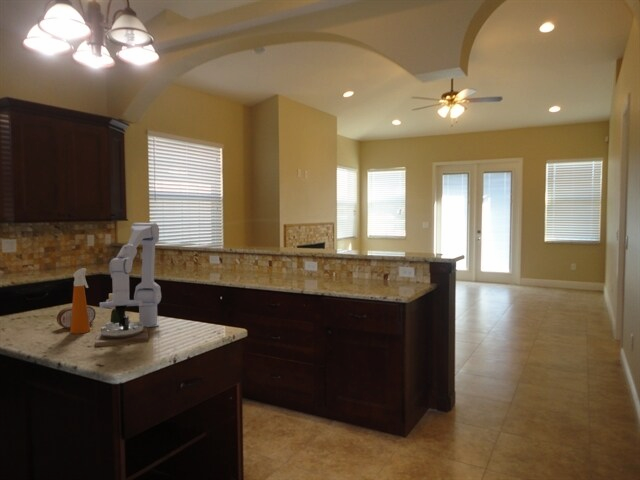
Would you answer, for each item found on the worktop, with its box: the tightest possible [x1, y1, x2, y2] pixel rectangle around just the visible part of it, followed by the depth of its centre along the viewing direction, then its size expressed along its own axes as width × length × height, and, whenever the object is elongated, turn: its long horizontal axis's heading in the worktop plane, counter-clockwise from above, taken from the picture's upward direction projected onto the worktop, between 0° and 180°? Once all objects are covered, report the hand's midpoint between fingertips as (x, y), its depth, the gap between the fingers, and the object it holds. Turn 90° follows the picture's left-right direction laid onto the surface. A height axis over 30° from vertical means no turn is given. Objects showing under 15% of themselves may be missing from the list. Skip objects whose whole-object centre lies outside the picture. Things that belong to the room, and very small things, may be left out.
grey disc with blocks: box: [100, 315, 143, 338], centre depth 176 cm, size 15×15×7 cm
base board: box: [94, 326, 149, 348], centre depth 176 cm, size 18×18×2 cm
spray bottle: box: [70, 267, 91, 335], centre depth 182 cm, size 7×11×26 cm, turn 53°
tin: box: [56, 304, 97, 329], centre depth 193 cm, size 15×3×8 cm, turn 141°
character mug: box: [105, 292, 127, 324], centre depth 198 cm, size 11×7×13 cm, turn 148°
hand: (121, 325), depth 171 cm, fingers closed, pressing on grey disc with blocks
